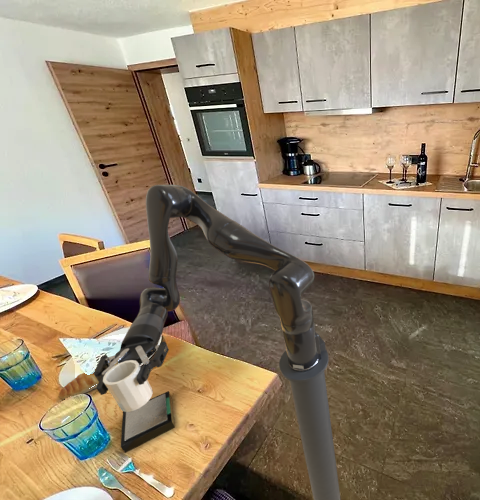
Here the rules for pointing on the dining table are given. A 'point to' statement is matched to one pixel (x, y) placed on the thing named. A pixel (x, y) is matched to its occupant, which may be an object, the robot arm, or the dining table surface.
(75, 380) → the pastry
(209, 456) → the dining table surface
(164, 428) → the scale
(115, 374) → the cup
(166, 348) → the robot arm
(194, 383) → the dining table surface
